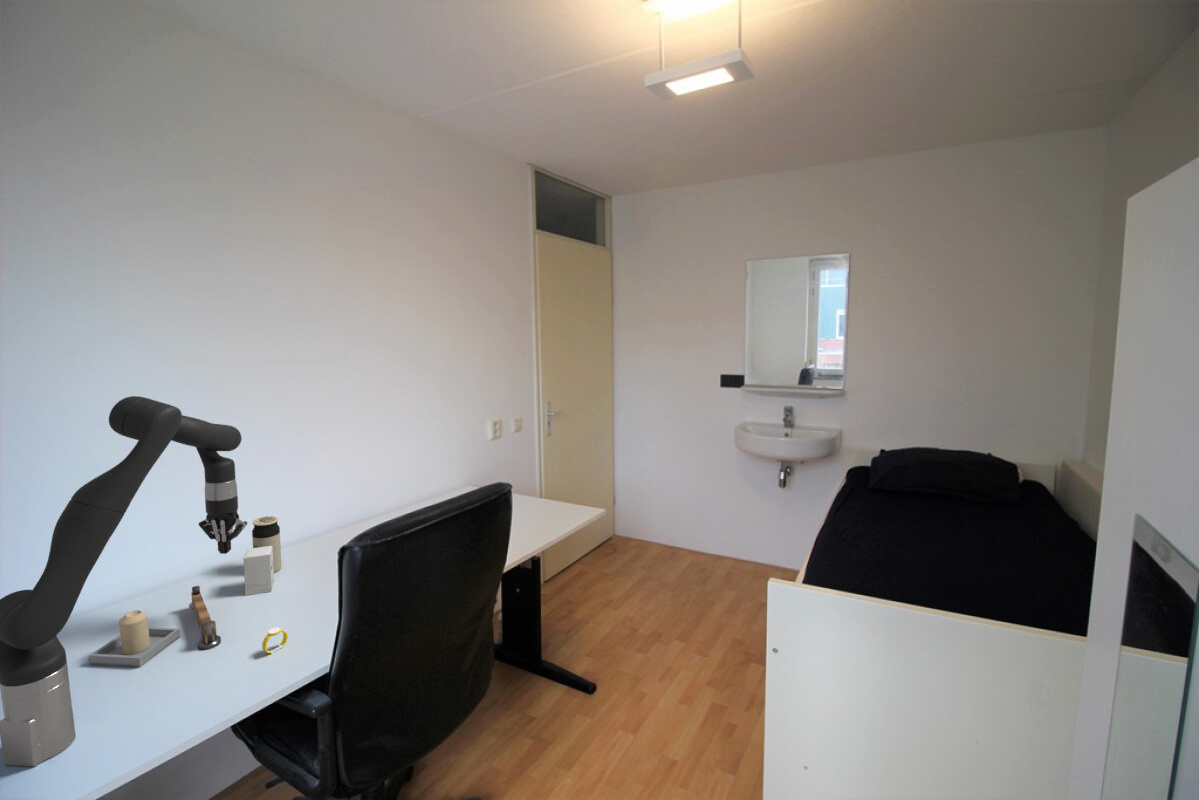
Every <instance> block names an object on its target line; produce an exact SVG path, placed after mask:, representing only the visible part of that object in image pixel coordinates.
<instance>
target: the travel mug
mask: <svg viewBox="0 0 1199 800" xmlns="http://www.w3.org/2000/svg"><path fill="white" fill-rule="evenodd" d="M278 521H279V517H278V516H275V515H274V516H273V515H269V516H266V515H265V516H261V517H258V518H256V519H253V520H252V522H251V523H252V525H253V529H252V530H251V535H252V536H251V537H252V548H258V547H266V546H272V547H273V568H274V573H275V572H278V571H279V570H280V569H282V552H281V551H282V549H281V548H282V547H281V528H280V526H279V524H278Z"/></svg>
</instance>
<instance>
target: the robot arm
mask: <svg viewBox="0 0 1199 800" xmlns="http://www.w3.org/2000/svg"><path fill="white" fill-rule="evenodd" d="M108 425H109V427H110V429H112V431H114V432H115V433H117V434H118V435H120V436H122V437H123V436H124V437H126V438H129V439H133V440H136V441H137V442H136V444H135V445H134V447H133V448H132V449H131V451H129V454H127V455H126V456H125V457H124V459H122V460H121V461H120V462H119V463H118V464H117V465H114V466H113V467H111V468H109V470H107V471H105V472H103V473H101V474H99V475H98V476H96V477H95V478H93V479H91V480H90V481H88V482H86V483H85V484H83V485H82V486H81V487H80V488H78V489H77V490H76V491H75V492H74V494H73V495H72V497H70V499H69V501H68V503H67V505H66V506H65V508H64V509H63V511H62V512H61V514H60V515H59V517H58V519H57V521H56V523H55V525H54V529H53V532H52V536H51V541H50V548H49V552H48V557H47V562H46V565H45V567H44V570H43V572H42V574H41V576H40V577H39V579H38V581H37V582H36V584H35V585H34V587H33V589H23V590H22V589H21V590H17V591H14V592H11V593H8V594H7V595H4V596H3V597H1V598H0V699H1V704H2V705H1V706H2V712H3V718H1V720H0V743H1V751H2V757H3V758H2V759H3V764H4V765H5V766H19V767H36V766H38V765H39V764H40V763H42V762H44V761H46V760H48V759H50V758H53V757H55V756H57V755H59V754H60V753H61V752H63V751H64V750H66V749H67V748H68V747H69V746H71V745H72V744H73V742H74V740H75V739H76V729H75V720H74V710H73V701H72V695H71V687H70V678H69V669H68V660H67V653H66V652H67V651H66V649H65V647H64V646H63V644H62V643H61V642H60V639H58V636H57V635H58V634H59V633H60V632H61V631H62V630H63V628H64V627H65V626H66V624H67V622H68V621H69V618H70V617H71V614H73V613H72V612H73V610H74V608H75V606H76V604H77V601H78V599H79V598H80V594H81V592H82V590H83V588H84V585H85V583H86V581H87V579H88V577H89V576H90V573H91V572H92V570H93V568H94V567H95V565H96V564H97V562H98V560H99V558H100V556H101V555H102V553H103V551H104V549H105V547H106V545H107V544H108V542H109V541H110V539H111V537H112V536H113V534H114V533H115V531H116V530H117V527H118V526H119V524H120V522H121V521H122V519H123V517H124V516H125V513H126V512H127V510H128V508H129V507H130V505H131V503H132V501H133V499H134V498H135V496H136V494H137V493H138V490H139V489H140V487H141V486H142V483H144V480H145V479H146V477H147V475H149V473H150V471H151V470H152V468H153V467H154V465H155V464H156V463H157V461H158V460H159V458H160V457H161V456H162V454H163V453H164V451H165V450H166V448H168V446H169V444H170V443H171V442H175V443H178V444H181V445H185V446H188V447H189V446H190V447H195V449H196V451H197V454H198V455H199V457H200V461H201V463H202V465H203V469H204V501H205V503H204V504H205V505H204V506H205V513H206V516H205V517H206V518H205V519H204V520H201V521H200V522H198V526H199V528H201V530H202V531H203V532H204V534H206V535H207V537H208V538H209V539H210V540H215V541H216V542H217V551H218V552H219V554H221V555H222V554H223V555H226V554H228V553H230V551H231V550H232V541H233V540H234V539H236V538H237V537H238V536H239V535H240V534H241V533H242V531H243V530H244V529H245V528H246V526H248V521H245V520H244V521H243V520H241V519H240V515H239V513H238V509H239V501H238V500H239V499H238V498H239V497H238V485H237V479H236V465H235V464H236V463H235V460H233V459H232V458H229V457H226V456H222V455H220V454H219V453H218V452H232V451H234V450H236V449H237V448H238V447H239V446H240V445H241V443H242V435H241V431H240V430H239V429H238V428H236V427H235V426H233V425H227V424H223V423H221V424H220V423H213V422H209V421H207V420H204V419H203V420H202V419H200V418H196V417H191V416H187V415H183V413H182V411H181V409H180V408H178V407H177V406H175V405H171V404H169V403H164V402H161V401H158V400H155V399H151V398H148V397H143V396H138V395H134V396H133V395H132V396H127V397H124V398H122V399H120V400H119V401H118V402H116V403H115V404H114V406H113V407H112V409H111V410H110V412H109V415H108Z"/></svg>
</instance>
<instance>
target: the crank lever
mask: <svg viewBox="0 0 1199 800" xmlns="http://www.w3.org/2000/svg"><path fill="white" fill-rule="evenodd" d="M201 593H202V592H201V588H200V585H194V586H193V587H191V593H190V594H191V602H192V606H193V612H194V615H195V617H196V620H197V623H198V627H199V628H200V636H201V637H200V638H201V639H202V643H205V644H207V643H211V642H213V641H215V640H216V638H217V636H216V635H217V626H216V621H215V620H212V618H211V617H210V613H209V611H208V609H207V606H206V603H205V601H204V598H203V596H202V594H201Z"/></svg>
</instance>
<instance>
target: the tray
mask: <svg viewBox="0 0 1199 800" xmlns="http://www.w3.org/2000/svg"><path fill="white" fill-rule="evenodd" d="M148 629H149V640H150V645H149V647H148V648H147V649H146V650H144V651H142V652H139V653H136V654H132V655H125V654H123V653H122V648H121V638H120V634H119V635H118V636H116V637H115V638H114V639H112V640H110V641H109V642H107V643H106V644H104V645H103V646H102V647H99V648H98V649H97V650H95V651H93V652H92V653H91V654H89V655H88V657H89V658H88V659H89V665H90V666H92V665H93V666H105V667H107V666H109V667H127V668H129V667H130V668H142V667H143V666H144V665H146V664H147V663H148V662H149V661H151V660H152V659H153V658H155V657H157V655H159V654H160V653H161V652H163V651H164V650H166V649H167V648H168V647H169V646H171V645H172V644H173V643H174V642H176V641H177V640H179V639H180V638H181V631H180V628H171V627H158V626H156V627H154V626H148Z"/></svg>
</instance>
